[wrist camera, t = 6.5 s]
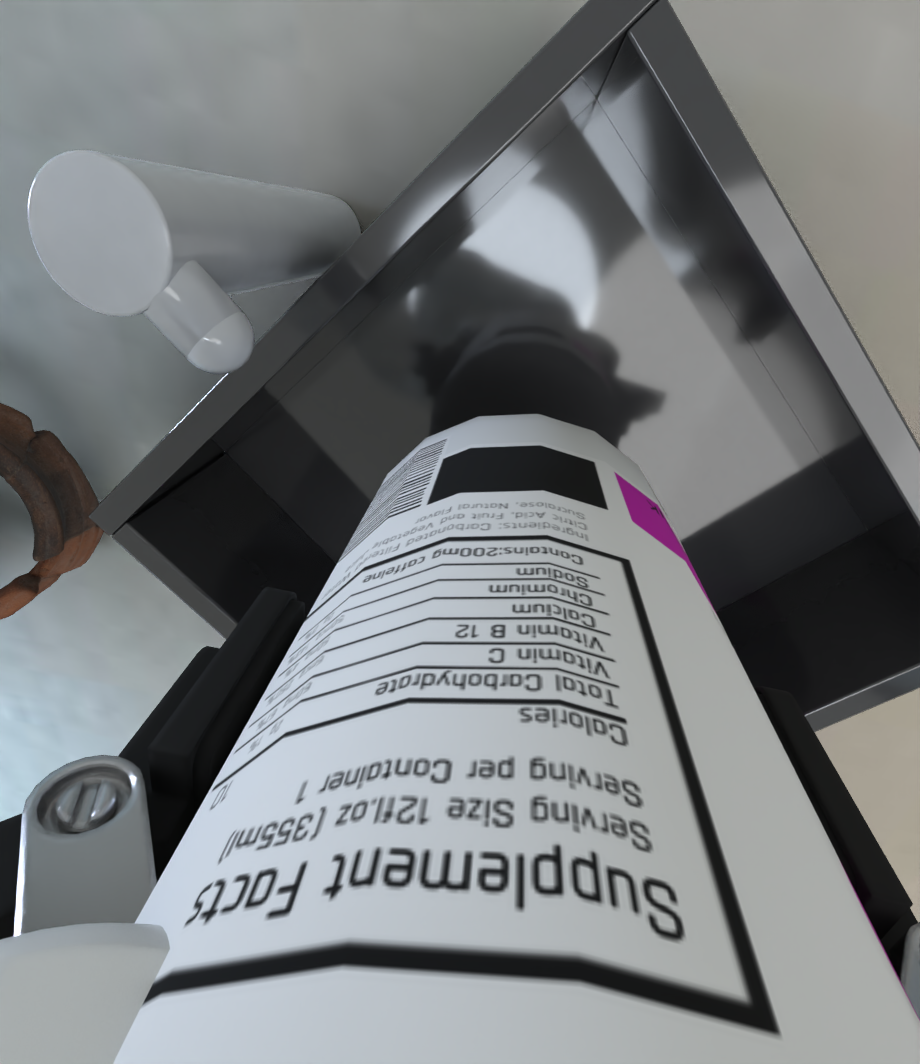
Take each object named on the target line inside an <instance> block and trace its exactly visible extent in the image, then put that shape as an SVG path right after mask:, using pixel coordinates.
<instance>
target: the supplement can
mask: <svg viewBox="0 0 920 1064" xmlns="http://www.w3.org/2000/svg"><path fill="white" fill-rule="evenodd" d="M135 923H136V924H153V925H160V926H161V927H163V929H164V930H165V932H166V934H167V936H168V940H169V946H170V950H169V952H168V954H167V956H166V958H165V960H164V962H163V964H162V966H161V968H160V970H159V972H158V974H157V976H156V978H155V980H154V982H153V984H152V986H151V988H150V990H149V992H148V994H147V996H146V998H145V1000H144V1002H143V1004H142V1006H141V1008H140V1010H139V1012H138V1014H137V1016H136V1018H135V1020H134V1022H133V1024H132V1026H131V1028H130V1030H129V1032H128V1035H127V1037H126V1039H125V1041H124V1043H123V1045H122V1047H121V1049H120V1051H119V1053H118V1055H117V1057H116V1059H115V1061H114V1063H113V1064H920V1020H919V1018H918V1016H917V1014H916V1012H915V1010H914V1008H913V1006H912V1004H911V1002H910V1000H909V998H908V996H907V994H906V992H905V990H904V988H903V986H902V984H901V982H900V980H899V978H898V976H897V974H896V972H895V970H894V968H893V966H892V964H891V962H890V960H889V958H888V956H887V954H886V952H885V950H884V948H883V946H882V944H881V942H880V940H879V938H878V936H877V934H876V932H875V930H874V928H873V926H872V924H871V922H870V920H869V918H868V916H867V914H866V912H865V910H864V908H863V906H862V904H861V902H860V900H859V898H858V896H857V894H856V892H855V890H854V888H853V886H852V884H851V882H850V880H849V878H848V876H847V874H846V872H845V870H844V868H843V866H842V864H841V862H840V860H839V858H838V856H837V854H836V852H835V850H834V848H833V846H832V844H831V842H830V840H829V838H828V836H827V834H826V832H825V830H824V828H823V826H822V824H821V822H820V820H819V818H818V816H817V814H816V812H815V810H814V808H813V806H812V804H811V802H810V800H809V798H808V796H807V794H806V792H805V790H804V788H803V786H802V784H801V782H800V780H799V778H798V776H797V774H796V772H795V770H794V768H793V766H792V764H791V762H790V760H789V758H788V756H787V754H786V752H785V750H784V748H783V746H782V744H781V742H780V740H779V738H778V736H777V734H776V732H775V730H774V728H773V726H772V724H771V722H770V720H769V718H768V716H767V714H766V712H765V710H764V708H763V706H762V704H761V702H760V700H759V698H758V696H757V694H756V692H755V690H754V688H753V686H752V684H751V682H750V680H749V678H748V676H747V674H746V672H745V670H744V668H743V666H742V664H741V662H740V660H739V658H738V656H737V654H736V652H735V650H734V648H733V646H732V644H731V642H730V640H729V638H728V636H727V634H726V632H725V630H724V628H723V626H722V624H721V622H720V620H719V618H718V616H717V614H716V612H715V610H714V608H713V606H712V604H711V602H710V600H709V598H708V596H707V594H706V592H705V590H704V588H703V586H702V584H701V582H700V580H699V578H698V576H697V574H696V572H695V570H694V568H693V566H692V564H691V562H690V560H689V558H688V556H687V554H686V552H685V550H684V548H683V546H682V544H681V542H680V540H679V538H678V536H677V534H676V532H675V530H674V528H673V526H672V524H671V522H670V520H669V518H668V516H667V514H666V512H665V510H664V509H663V507H662V505H661V503H660V502H659V500H658V498H657V496H656V495H655V493H654V491H653V489H652V488H651V486H650V484H649V482H648V481H647V479H646V477H645V476H644V474H643V472H642V470H641V469H640V467H639V465H637V464H636V463H635V462H633V461H632V460H631V459H630V458H628V457H627V456H626V455H624V454H623V453H622V452H621V451H619V450H618V449H617V448H615V447H614V446H613V445H612V444H610V443H609V442H608V441H606V440H605V439H604V438H603V437H601V436H600V435H599V434H597V433H596V432H595V431H592V430H589V429H586V428H582V427H579V426H576V425H573V424H569V423H566V422H563V421H560V420H556V419H553V418H550V417H547V416H544V415H540V414H521V415H498V416H478V417H476V418H473V419H471V420H468V421H466V422H464V423H461V424H459V425H456V426H454V427H451V428H449V429H447V430H444V431H442V432H439V433H437V434H434V435H432V436H429V437H427V438H425V439H424V440H423V441H422V442H421V443H420V444H419V445H418V446H417V447H416V448H415V449H414V450H413V451H411V452H410V453H409V454H408V455H407V456H406V457H405V458H404V459H403V460H402V461H401V462H400V463H399V464H398V465H396V466H395V467H394V468H393V469H392V470H391V471H390V472H389V473H388V474H387V476H386V478H385V479H384V481H383V483H382V485H381V486H380V488H379V490H378V492H377V494H376V495H375V497H374V499H373V501H372V502H371V504H370V506H369V508H368V509H367V511H366V513H365V515H364V517H363V518H362V520H361V522H360V524H359V525H358V527H357V529H356V531H355V533H354V534H353V536H352V538H351V540H350V541H349V543H348V545H347V547H346V549H345V550H344V552H343V554H342V556H341V557H340V559H339V561H338V563H337V565H336V566H335V568H334V570H333V572H332V573H331V575H330V577H329V579H328V581H327V582H326V584H325V586H324V588H323V589H322V591H321V593H320V595H319V597H318V598H317V600H316V602H315V604H314V605H313V607H312V609H311V611H310V612H309V614H308V616H307V618H306V620H305V621H304V623H303V625H302V627H301V628H300V630H299V632H298V634H297V636H296V637H295V639H294V641H293V643H292V644H291V646H290V648H289V650H288V652H287V653H286V655H285V657H284V659H283V660H282V662H281V664H280V666H279V668H278V669H277V671H276V673H275V675H274V676H273V678H272V680H271V682H270V684H269V685H268V687H267V689H266V691H265V692H264V694H263V696H262V698H261V699H260V701H259V703H258V705H257V707H256V708H255V710H254V712H253V714H252V715H251V717H250V719H249V721H248V723H247V724H246V726H245V728H244V730H243V731H242V733H241V735H240V737H239V739H238V740H237V742H236V744H235V746H234V747H233V749H232V751H231V753H230V755H229V756H228V758H227V760H226V762H225V763H224V765H223V767H222V769H221V771H220V772H219V774H218V776H217V778H216V779H215V781H214V783H213V785H212V786H211V788H210V790H209V792H208V794H207V795H206V797H205V799H204V801H203V802H202V804H201V806H200V808H199V810H198V811H197V813H196V815H195V817H194V818H193V820H192V822H191V824H190V826H189V827H188V829H187V831H186V833H185V834H184V836H183V838H182V840H181V842H180V843H179V845H178V847H177V849H176V850H175V852H174V854H173V856H172V858H171V859H170V861H169V863H168V865H167V866H166V868H165V870H164V872H163V873H162V875H161V877H160V879H159V881H158V882H157V884H156V886H155V888H154V889H153V891H152V893H151V895H150V897H149V898H148V900H147V902H146V904H145V905H144V907H143V909H142V911H141V913H140V914H139V916H138V918H137V920H136V921H135Z"/></svg>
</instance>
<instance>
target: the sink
mask: <svg viewBox="0 0 920 1064" xmlns="http://www.w3.org/2000/svg"><path fill="white" fill-rule="evenodd" d="M597 97H598V98H597ZM596 98H597V99H598V101H597V99H596ZM600 105H601V106H600ZM586 107H587V108H586ZM585 108H586V109H585ZM602 108H603V109H602ZM584 109H585V110H584ZM605 113H606V114H605ZM607 116H608V117H607ZM610 121H611V122H610ZM612 124H613V125H612ZM565 127H566V128H565ZM614 127H615V128H614ZM564 128H565V129H564ZM563 129H564V130H563ZM617 132H618V133H617ZM619 135H620V136H619ZM622 140H623V141H622ZM624 143H625V144H624ZM544 147H545V148H544ZM543 148H544V149H543ZM627 148H628V149H627ZM542 149H543V150H542ZM629 151H630V152H629ZM632 156H633V157H632ZM634 159H635V160H634ZM636 162H637V163H636ZM523 167H524V168H523ZM639 167H640V168H639ZM522 168H523V169H522ZM521 169H522V170H521ZM641 170H642V171H641ZM644 175H645V176H644ZM646 178H647V179H646ZM649 183H650V184H649ZM651 186H652V187H651ZM502 187H503V188H502ZM501 188H502V189H501ZM500 189H501V190H500ZM654 191H655V192H654ZM656 194H657V195H656ZM661 202H662V203H661ZM663 205H664V206H663ZM480 208H481V209H480ZM479 209H480V210H479ZM666 210H667V211H666ZM27 213H28V224H29V230H30V234H31V238H32V241H33V244H34V247H35V249H36V252H37V254H38V256H39V258H40V260H41V262H42V264H43V265H44V267H45V268H46V270H47V272H48V273H49V274H50V276H51V277H52V278H53V280H54V281H55V282H56V283H57V284H58V285H59V286H60V288H61V289H62V290H63V291H65V292H66V293H67V294H68V295H69V296H70V297H72V298H73V299H74V300H76V301H77V302H78V303H80V304H82V305H83V306H85V307H87V308H89V309H91V310H94V311H96V312H98V313H102V314H105V315H110V316H117V317H126V316H133V315H138V314H144V315H145V316H146V317H147V318H148V319H149V321H150V322H151V323H152V324H153V325H154V326H155V327H156V328H157V329H158V330H159V331H160V332H161V333H162V334H163V335H164V336H165V337H166V338H167V339H168V340H169V341H170V342H171V343H172V344H173V345H174V347H175V348H176V349H177V350H178V351H179V352H180V353H181V354H182V355H183V356H184V357H185V358H186V359H187V360H188V361H189V362H190V363H192V364H193V365H194V366H196V367H197V368H199V369H201V370H203V371H205V372H208V373H213V374H225V375H224V376H223V377H222V378H221V379H220V380H219V381H218V382H217V383H216V384H215V385H214V386H213V387H212V389H211V390H210V391H209V392H208V393H207V394H206V395H205V396H204V397H203V398H202V399H201V400H200V401H199V402H198V403H197V404H196V405H195V406H194V407H193V408H192V409H191V410H190V411H189V412H188V413H187V414H186V415H185V416H184V417H183V418H182V419H181V420H180V421H179V423H178V424H177V425H176V426H175V427H174V428H173V429H172V430H171V431H170V432H169V433H168V434H167V435H166V436H165V437H164V438H163V439H162V440H161V441H160V442H159V443H158V444H157V445H156V446H155V447H154V448H153V449H152V450H151V451H150V452H149V453H148V454H147V455H146V457H145V458H144V459H143V460H142V461H141V462H140V463H139V464H138V465H137V466H136V467H135V468H134V469H133V470H132V471H131V472H130V473H129V474H128V475H127V476H126V477H125V478H124V479H123V480H122V481H121V482H120V483H119V484H118V485H117V486H116V487H115V488H114V489H113V491H112V492H111V493H110V494H109V495H108V496H107V497H106V498H105V499H104V500H103V501H102V502H101V503H100V504H99V505H98V506H97V507H96V508H95V509H94V510H93V511H92V512H91V513H90V514H89V518H90V519H91V520H92V521H93V522H94V523H95V524H96V525H98V526H99V527H100V528H101V529H102V530H103V531H104V532H105V533H107V534H108V535H113V536H112V538H113V539H114V540H115V541H116V542H117V543H118V544H119V545H121V546H122V547H123V548H124V549H125V550H126V551H127V552H128V553H129V554H131V555H132V556H133V557H134V558H135V559H136V560H137V561H138V562H140V563H141V564H142V565H143V566H144V567H145V568H146V569H147V570H149V571H150V572H151V573H152V574H153V575H154V576H155V577H156V578H158V579H159V580H160V581H161V582H162V583H163V584H164V585H165V586H167V587H168V588H169V589H170V590H171V591H172V592H173V593H174V594H176V595H177V596H178V597H179V598H180V599H181V600H182V601H183V602H185V603H186V604H187V605H188V606H189V607H190V608H191V609H192V610H194V611H195V612H196V613H197V614H198V615H199V616H200V617H201V618H202V619H204V620H205V621H206V622H207V623H208V624H209V625H210V626H211V627H213V628H214V629H215V630H216V631H217V632H218V633H219V634H220V635H222V636H223V637H224V638H225V639H226V640H227V638H228V637H229V636H230V634H231V633H232V631H233V630H234V629H235V627H236V626H237V625H238V623H239V622H240V620H241V619H242V618H243V616H244V615H245V614H246V612H247V611H248V609H249V608H250V607H251V605H252V604H253V603H254V601H255V600H256V598H257V597H258V596H259V594H260V593H261V592H262V590H263V589H264V588H265V587H270V588H275V589H280V590H285V591H290V592H295V593H296V596H297V601H301V602H304V603H305V619H304V621H305V620H306V618H307V616H308V614H309V612H310V611H311V609H312V607H313V605H314V604H315V602H316V600H317V598H318V597H319V595H320V593H321V591H322V589H323V588H324V586H325V584H326V582H327V581H328V579H329V577H330V575H331V573H332V572H333V570H334V568H335V566H336V565H337V564H336V563H338V561H339V559H340V557H341V556H342V554H343V552H344V550H345V549H346V547H347V545H348V543H349V541H350V540H351V538H352V536H353V534H354V533H355V531H356V529H357V527H358V525H359V524H360V522H361V520H362V518H363V517H364V515H365V513H366V511H367V509H368V508H369V506H370V504H371V502H372V501H373V499H374V497H375V495H376V494H377V492H378V490H379V488H380V486H381V485H382V483H383V481H384V479H385V478H386V476H387V474H388V473H389V472H390V471H391V470H392V469H393V468H394V467H395V466H396V465H398V464H399V463H400V462H401V461H402V460H403V459H404V458H405V457H406V456H407V455H408V454H409V453H410V452H411V451H413V450H414V449H415V448H416V447H417V446H418V445H419V444H420V443H421V442H422V441H423V440H424V439H425V438H427V437H429V436H432V435H434V434H437V433H439V432H442V431H444V430H447V429H449V428H451V427H454V426H456V425H459V424H461V423H464V422H466V421H468V420H471V419H473V418H476V417H478V416H498V415H521V414H540V415H544V416H547V417H550V418H553V419H556V420H560V421H563V422H566V423H569V424H573V425H576V426H579V427H582V428H586V429H589V430H592V431H595V432H596V433H597V434H599V435H600V436H601V437H603V438H604V439H605V440H606V441H608V442H609V443H610V444H612V445H613V446H614V447H615V448H617V449H618V450H619V451H621V452H622V453H623V454H624V455H626V456H627V457H628V458H630V459H631V460H632V461H633V462H635V463H636V464H637V465H639V467H640V469H641V470H642V472H643V474H644V476H645V477H646V479H647V481H648V482H649V484H650V486H651V488H652V489H653V491H654V493H655V495H656V496H657V498H658V500H659V502H660V503H661V505H662V507H663V509H664V510H665V512H666V514H667V516H668V518H669V520H670V522H671V524H672V526H673V528H674V530H675V532H676V534H677V536H678V538H679V540H680V542H681V544H682V546H683V548H684V550H685V552H686V554H687V556H688V558H689V560H690V562H691V564H692V566H693V568H694V570H695V572H696V574H697V576H698V578H699V580H700V582H701V584H702V586H703V588H704V590H705V592H706V594H707V596H708V598H709V600H710V602H711V604H712V606H713V608H714V610H715V612H716V614H717V616H718V618H719V620H720V622H721V624H722V626H723V628H724V630H725V632H726V634H727V636H728V638H729V640H730V642H731V644H732V646H733V648H734V650H735V652H736V654H737V656H738V658H739V660H740V662H741V664H742V666H743V668H744V670H745V672H746V674H747V676H748V678H749V680H750V682H751V684H752V686H753V688H754V687H756V686H763V687H768V688H773V689H778V690H783V691H787V692H789V693H791V694H792V695H793V696H794V698H795V700H796V701H797V703H798V705H799V707H800V708H801V710H802V712H803V714H804V715H805V717H806V719H807V721H808V722H809V724H810V726H811V727H812V729H813V731H814V732H816V731H819V730H821V729H823V728H826V727H828V726H831V725H833V724H835V723H838V722H840V721H842V720H845V719H847V718H850V717H852V716H854V715H857V714H859V713H861V712H864V711H866V710H869V709H871V708H873V707H876V706H878V705H880V704H883V703H885V702H888V701H890V700H892V699H895V698H897V697H899V696H902V695H904V694H907V693H909V692H911V691H914V690H916V689H918V688H920V446H919V444H918V442H917V441H916V439H915V437H914V435H913V434H912V432H911V430H910V428H909V426H908V425H907V423H906V421H905V419H904V418H903V416H902V414H901V412H900V411H899V409H898V407H897V405H896V403H895V402H894V400H893V398H892V396H891V395H890V393H889V391H888V389H887V387H886V386H885V384H884V382H883V380H882V379H881V377H880V375H879V373H878V371H877V370H876V368H875V366H874V364H873V363H872V361H871V359H870V357H869V356H868V354H867V352H866V350H865V348H864V347H863V345H862V343H861V341H860V340H859V338H858V336H857V334H856V332H855V331H854V329H853V327H852V325H851V324H850V322H849V320H848V318H847V317H846V315H845V313H844V311H843V309H842V308H841V306H840V304H839V302H838V301H837V299H836V297H835V295H834V293H833V292H832V290H831V288H830V286H829V285H828V283H827V281H826V279H825V278H824V276H823V274H822V272H821V270H820V269H819V267H818V265H817V263H816V262H815V260H814V258H813V256H812V254H811V253H810V251H809V249H808V247H807V246H806V244H805V242H804V240H803V238H802V237H801V235H800V233H799V231H798V230H797V228H796V226H795V224H794V223H793V221H792V219H791V217H790V215H789V214H788V212H787V210H786V208H785V207H784V205H783V203H782V201H781V199H780V198H779V196H778V194H777V192H776V191H775V189H774V187H773V185H772V184H771V182H770V180H769V178H768V176H767V175H766V173H765V171H764V169H763V168H762V166H761V164H760V162H759V160H758V159H757V157H756V155H755V153H754V152H753V150H752V148H751V146H750V145H749V143H748V141H747V139H746V137H745V136H744V134H743V132H742V130H741V129H740V127H739V125H738V123H737V121H736V120H735V118H734V116H733V114H732V113H731V111H730V109H729V107H728V106H727V104H726V102H725V100H724V98H723V97H722V95H721V93H720V91H719V90H718V88H717V86H716V84H715V82H714V81H713V79H712V77H711V75H710V74H709V72H708V70H707V68H706V66H705V65H704V63H703V61H702V59H701V58H700V56H699V54H698V52H697V51H696V49H695V47H694V45H693V43H692V42H691V40H690V38H689V36H688V35H687V33H686V31H685V29H684V27H683V26H682V24H681V22H680V20H679V19H678V17H677V15H676V13H675V12H674V10H673V8H672V6H671V4H670V3H669V1H668V0H588V1H587V2H586V3H585V4H584V5H583V6H582V7H581V8H580V9H579V10H578V11H577V12H576V13H575V14H574V15H573V17H572V18H571V19H570V20H569V21H568V22H567V23H566V24H565V25H564V26H563V27H562V28H561V29H560V30H559V31H558V32H557V33H556V34H555V35H554V36H553V37H552V38H551V39H550V40H549V41H548V42H547V43H546V44H545V45H544V46H543V47H542V48H541V49H540V51H539V52H538V53H537V54H536V55H535V56H534V57H533V58H532V59H531V60H530V61H529V62H528V63H527V64H526V65H525V66H524V67H523V68H522V69H521V70H520V71H519V72H518V73H517V74H516V75H515V76H514V77H513V78H512V79H511V80H510V81H509V82H508V83H507V85H506V86H505V87H504V88H503V89H502V90H501V91H500V92H499V93H498V94H497V95H496V96H495V97H494V98H493V99H492V100H491V101H490V102H489V103H488V104H487V105H486V106H485V107H484V108H483V109H482V110H481V111H480V112H479V113H478V114H477V115H476V116H475V117H474V119H473V120H472V121H471V122H470V123H469V124H468V125H467V126H466V127H465V128H464V129H463V130H462V131H461V132H460V133H459V134H458V135H457V136H456V137H455V138H454V139H453V140H452V141H451V142H450V143H449V144H448V145H447V146H446V147H445V148H444V149H443V150H442V151H441V153H440V154H439V155H438V156H437V157H436V158H435V159H434V160H433V161H432V162H431V163H430V164H429V165H428V166H427V167H426V168H425V169H424V170H423V171H422V172H421V173H420V174H419V175H418V176H417V177H416V178H415V179H414V180H413V181H412V182H411V183H410V184H409V186H408V187H407V188H406V189H405V190H404V191H403V192H402V193H401V194H400V195H399V196H398V197H397V198H396V199H395V200H394V201H393V202H392V203H391V204H390V205H389V206H388V207H387V208H386V209H385V210H384V211H383V212H382V213H381V214H380V215H379V216H378V217H377V218H376V220H375V221H374V222H373V223H372V224H371V225H370V226H369V227H368V228H367V229H366V230H365V231H364V232H363V233H362V234H361V230H360V225H359V222H358V220H357V217H356V215H355V214H354V212H353V210H352V209H351V208H350V207H349V206H348V204H347V203H345V202H344V201H343V200H341V199H340V198H338V197H336V196H334V195H331V194H326V193H321V192H316V191H310V190H305V189H299V188H294V187H288V186H283V185H277V184H272V183H266V182H261V181H255V180H250V179H244V178H239V177H233V176H228V175H222V174H217V173H211V172H206V171H200V170H195V169H189V168H184V167H179V166H173V165H168V164H162V163H157V162H151V161H146V160H140V159H135V158H129V157H124V156H118V155H113V154H107V153H102V152H96V151H90V150H72V151H66V152H64V153H61V154H58V155H57V156H55V157H53V158H52V159H50V160H49V161H48V162H47V163H46V164H44V165H43V166H42V168H41V169H40V170H39V171H38V173H37V175H36V176H35V178H34V180H33V183H32V185H31V188H30V192H29V197H28V207H27ZM668 213H669V214H668ZM671 218H672V219H671ZM673 221H674V222H673ZM676 226H677V227H676ZM459 228H460V229H459ZM458 229H459V230H458ZM678 229H679V230H678ZM681 234H682V235H681ZM683 237H684V238H683ZM685 240H686V241H685ZM688 245H689V246H688ZM438 248H439V249H438ZM690 248H691V249H690ZM437 249H438V250H437ZM436 250H437V251H436ZM693 253H694V254H693ZM695 256H696V257H695ZM698 261H699V262H698ZM700 264H701V265H700ZM417 268H418V269H417ZM416 269H417V270H416ZM703 269H704V270H703ZM415 270H416V271H415ZM705 272H706V273H705ZM707 275H708V276H707ZM317 277H319V278H318V279H317V280H316V281H315V282H314V283H313V284H312V285H311V286H310V288H309V289H308V290H307V291H306V292H305V293H304V294H303V295H302V296H301V297H300V298H299V299H298V300H297V301H296V302H295V303H294V304H293V305H292V306H291V307H290V308H289V309H288V310H287V311H286V312H285V313H284V314H283V315H282V316H281V317H280V318H279V319H278V320H277V322H276V323H275V324H274V325H273V326H272V327H271V328H270V329H269V330H268V331H267V332H266V333H265V334H264V335H263V336H262V337H261V338H260V339H259V340H258V341H257V342H256V343H255V338H254V331H253V328H252V325H251V323H250V321H249V319H248V318H247V316H246V315H245V314H244V312H243V311H242V310H241V309H240V308H239V307H238V306H237V305H236V303H235V302H234V301H233V300H232V299H231V298H230V297H229V296H230V295H235V294H240V293H245V292H249V291H254V290H259V289H264V288H269V287H274V286H279V285H283V284H288V283H293V282H298V281H303V280H308V279H312V278H317ZM710 280H711V281H710ZM712 283H713V284H712ZM396 288H397V289H396ZM715 288H716V289H715ZM395 289H396V290H395ZM394 290H395V291H394ZM717 291H718V292H717ZM720 296H721V297H720ZM722 299H723V300H722ZM725 304H726V305H725ZM727 307H728V308H727ZM374 309H375V310H374ZM373 310H374V311H373ZM732 315H733V316H732ZM734 318H735V319H734ZM737 323H738V324H737ZM739 326H740V327H739ZM353 329H354V330H353ZM352 330H353V331H352ZM742 331H743V332H742ZM744 334H745V335H744ZM747 339H748V340H747ZM749 342H750V343H749ZM254 343H255V344H254ZM332 349H333V350H332ZM331 350H332V351H331ZM754 350H755V351H754ZM756 353H757V354H756ZM759 358H760V359H759ZM761 361H762V362H761ZM764 366H765V367H764ZM311 369H312V370H311ZM766 369H767V370H766ZM310 370H311V371H310ZM769 374H770V375H769ZM771 377H772V378H771ZM776 385H777V386H776ZM778 388H779V389H778ZM290 389H291V390H290ZM289 390H290V391H289ZM288 391H289V392H288ZM781 393H782V394H781ZM783 396H784V397H783ZM786 401H787V402H786ZM788 404H789V405H788ZM269 409H270V410H269ZM791 409H792V410H791ZM268 410H269V411H268ZM267 411H268V412H267ZM793 412H794V413H793ZM798 420H799V421H798ZM803 428H804V429H803ZM247 430H248V431H247ZM246 431H247V432H246ZM805 431H806V432H805ZM808 436H809V437H808ZM810 439H811V440H810ZM813 444H814V445H813ZM815 447H816V448H815ZM226 450H227V451H226ZM225 451H226V453H224V452H225ZM820 455H821V456H820ZM825 463H826V464H825ZM827 466H828V467H827ZM830 471H831V472H830ZM832 474H833V475H832ZM835 479H836V480H835ZM837 482H838V483H837ZM840 487H841V488H840ZM842 490H843V491H842ZM847 498H848V499H847ZM849 501H850V502H849ZM852 506H853V507H852ZM854 509H855V510H854ZM285 512H286V513H287V514H288V515H289V516H290V517H291V518H292V519H293V520H294V521H295V522H296V523H297V524H298V525H299V526H300V527H301V528H302V529H303V530H304V531H305V532H306V533H307V534H308V535H309V536H310V537H311V538H312V539H313V540H314V541H315V542H316V543H317V544H318V545H319V546H320V547H321V548H322V549H323V550H324V551H325V552H326V553H327V554H328V555H329V556H330V557H331V558H332V559H333V560H334V561H335V562H336V563H335V562H334V561H333V560H332V559H331V558H330V557H329V556H328V555H327V554H326V553H325V552H324V551H323V550H322V549H321V548H320V547H319V546H318V545H317V544H316V543H315V542H314V541H313V540H312V539H311V538H310V537H309V536H308V535H307V534H306V533H305V532H304V531H303V530H302V529H301V528H300V527H299V526H298V525H297V524H296V523H295V522H294V521H293V520H292V519H291V518H290V517H289V516H288V515H287V514H286V513H285ZM857 514H858V515H857ZM859 517H860V518H859ZM862 522H863V523H862ZM864 525H865V526H864ZM866 531H867V532H866ZM857 536H858V537H857ZM855 537H856V538H855ZM853 538H854V539H853ZM851 539H852V540H851ZM840 545H841V546H840ZM838 546H839V547H838ZM836 547H837V548H836ZM834 548H835V549H834ZM823 554H824V555H823ZM821 555H822V556H821ZM819 556H820V557H819ZM817 557H818V558H817ZM808 562H809V563H808ZM806 563H807V564H806ZM804 564H805V565H804ZM802 565H803V566H802ZM791 571H792V572H791ZM789 572H790V573H789ZM787 573H788V574H787ZM785 574H786V575H785ZM774 580H775V581H774ZM772 581H773V582H772ZM770 582H771V583H770ZM759 588H760V589H759ZM757 589H758V590H757ZM755 590H756V591H755ZM753 591H754V592H753ZM742 597H743V598H742ZM740 598H741V599H740ZM738 599H739V600H738ZM736 600H737V601H736ZM725 606H726V607H725ZM723 607H724V608H723ZM721 608H722V609H721Z"/></svg>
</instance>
